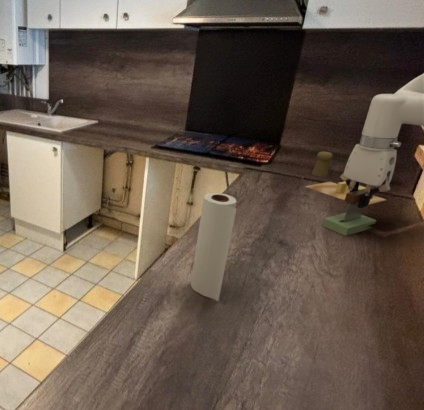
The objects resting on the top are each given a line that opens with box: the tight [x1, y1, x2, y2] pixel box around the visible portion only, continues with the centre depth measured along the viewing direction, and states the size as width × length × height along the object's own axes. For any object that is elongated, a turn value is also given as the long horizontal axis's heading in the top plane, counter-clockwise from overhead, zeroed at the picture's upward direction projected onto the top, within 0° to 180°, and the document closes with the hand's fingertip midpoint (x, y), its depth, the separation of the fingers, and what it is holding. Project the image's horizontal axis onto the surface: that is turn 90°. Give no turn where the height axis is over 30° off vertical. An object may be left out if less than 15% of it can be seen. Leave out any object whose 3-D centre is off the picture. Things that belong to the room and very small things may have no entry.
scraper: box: [343, 189, 375, 222], centre depth 103 cm, size 2×9×9 cm, turn 114°
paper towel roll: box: [190, 192, 238, 302], centre depth 74 cm, size 7×6×21 cm
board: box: [305, 181, 387, 206], centre depth 128 cm, size 20×14×2 cm
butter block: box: [344, 185, 366, 195], centre depth 123 cm, size 6×4×4 cm, turn 24°
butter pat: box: [336, 181, 347, 193], centre depth 128 cm, size 2×4×4 cm, turn 114°
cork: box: [310, 151, 333, 178], centre depth 144 cm, size 6×6×11 cm
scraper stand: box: [321, 212, 377, 237], centre depth 105 cm, size 7×13×2 cm, turn 114°
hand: (356, 204), depth 103 cm, fingers closed on scraper, 2 cm apart
